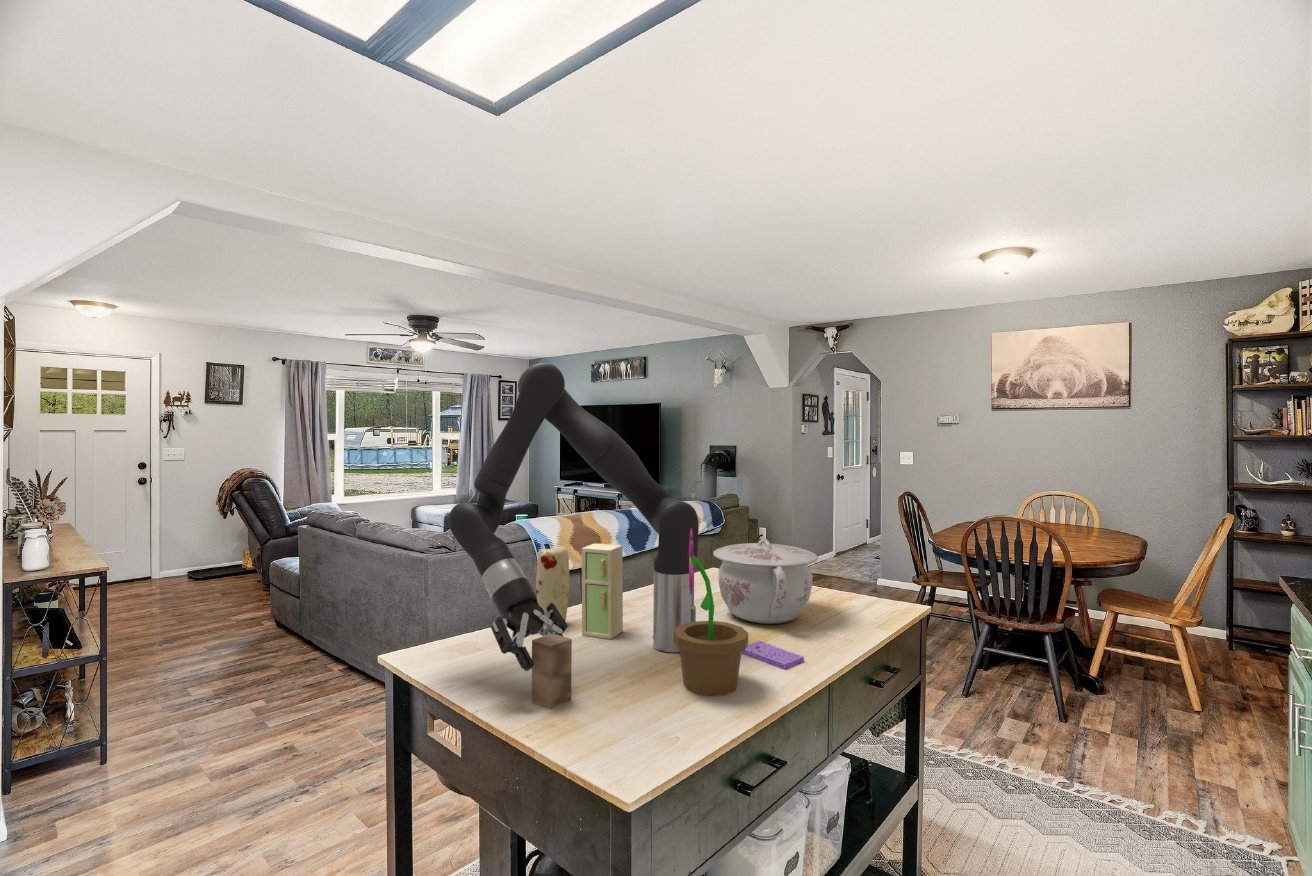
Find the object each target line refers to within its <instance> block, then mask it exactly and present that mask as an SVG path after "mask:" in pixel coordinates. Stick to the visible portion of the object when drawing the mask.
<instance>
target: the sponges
mask: <svg viewBox="0 0 1312 876" xmlns="http://www.w3.org/2000/svg"><path fill="white" fill-rule="evenodd" d="M741 655H744V656H746V657H749V658H752V659H754V660H758V661H761V662H762V663H766V664H767V665H771V666H774V667H775V668H778V669H782V670H788V669H789V668H790V669H791V668H793V667H795V666H797V665H800V664H803V663H804V662H805V656H804V655H800V654H798V653H795V652H792V651H789V650H786V649H783V648H781V647H777V646H776V645H773V644H770V643H767V642H766V641H763V640H756V641H754V642H752V643H748V645H747V647H746V649H745V650H743V651H742V652H741Z"/></svg>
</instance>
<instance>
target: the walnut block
mask: <svg viewBox="0 0 1312 876" xmlns="http://www.w3.org/2000/svg"><path fill="white" fill-rule="evenodd" d="M572 640H573V639H572V638H570V637H566V636H564V635H563V636H560V635H557V634H554V632H553V633H552V634H549V635H546V636H541V637H538V638H535V639H532V640H531V659H532V660H533V662H534V666H533V667H532V668H531V702H533V703H535V704H537V705H540V706H542V707H544V706H545V707H544V708H546V709H549V710H552V709H553V708H556V707H558V706H560V705H562V704H563V705H564V704H565V703H566V702H569V701H571V700H572V662H573V661H572V660H573V659H572V651H573V650H572V647H573V646H572V644H573V643H572Z"/></svg>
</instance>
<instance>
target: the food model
mask: <svg viewBox="0 0 1312 876" xmlns="http://www.w3.org/2000/svg"><path fill="white" fill-rule="evenodd" d="M569 559H570V558H569V552H568V549H567V547H565V546H562V545H560V546H557V547H554V548H544V549H540V550H539V551H538V553H537V562H536V565H537V566H536V580H535V594H536V596H537V602H538V604H539V606H540V607H542V608H544V607H547V606H548V605H549V604H550V603H553V604H554V605H555V606H556V608H557V609H558V611H559V613H560V614H561V616H562V617H563V619H564V620H565V622H566V621H567V620H566V619H567V613H568V607H569V606H568V605H569V604H568V603H569V596H570V595H569V594H570V563H569V561H570V560H569ZM544 616H545V615H544ZM558 624H559V623H558ZM545 626H546V625H545V624H544V623H543V627H542V628H544V627H545ZM559 626H560V624H559Z"/></svg>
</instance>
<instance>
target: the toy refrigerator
mask: <svg viewBox="0 0 1312 876" xmlns="http://www.w3.org/2000/svg"><path fill="white" fill-rule="evenodd" d="M623 563H624V562H623V545H622V544H621V545H619V544H608V543H607V544H606V543H592V544H588V545H586V546H584V547H582V548H581V634H582V636H585V637H594V638H601V639H608V640H611V639H614V638H615V637H616V636H617V635H619V634H620V633H622V632H623V631H624V622H623V621H624V620H623V619H624V613H623V612H624V611H623V607H624V606H623V604H624V603H623V599H624V598H623V597H624V596H623V592H624V590H623V588H624V587H623V586H624V585H623V577H624V576H623V571H624V570H623Z"/></svg>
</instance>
